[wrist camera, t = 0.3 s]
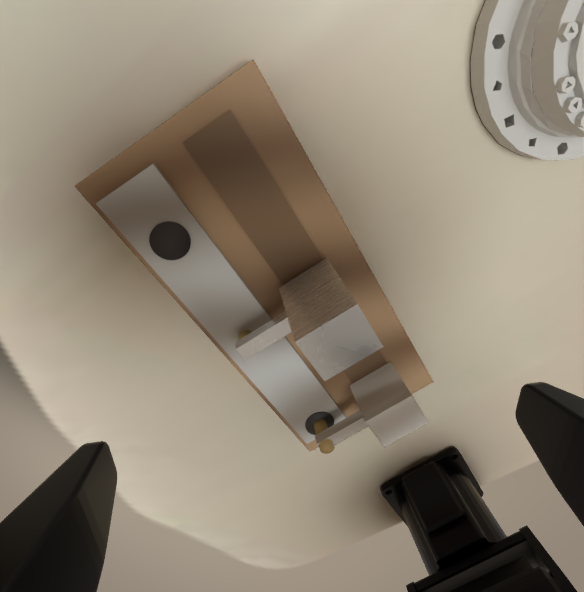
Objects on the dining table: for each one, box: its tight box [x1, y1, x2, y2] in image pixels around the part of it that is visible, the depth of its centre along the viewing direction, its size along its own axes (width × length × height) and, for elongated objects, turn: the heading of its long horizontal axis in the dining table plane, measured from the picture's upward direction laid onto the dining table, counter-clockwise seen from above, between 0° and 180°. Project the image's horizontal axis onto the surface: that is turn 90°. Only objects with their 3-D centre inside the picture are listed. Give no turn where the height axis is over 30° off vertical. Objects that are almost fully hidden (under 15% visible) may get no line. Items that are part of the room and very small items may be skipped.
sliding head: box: [235, 258, 383, 381], centre depth 18 cm, size 2×6×5 cm, turn 121°
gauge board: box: [75, 60, 433, 454], centre depth 20 cm, size 20×9×4 cm, turn 31°
